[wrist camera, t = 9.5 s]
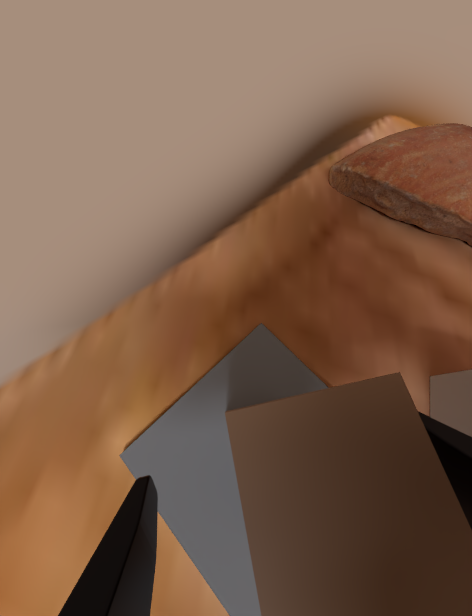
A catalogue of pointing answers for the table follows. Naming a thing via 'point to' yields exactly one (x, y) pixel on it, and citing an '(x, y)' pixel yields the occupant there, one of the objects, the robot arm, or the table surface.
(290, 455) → the brown rectangular block
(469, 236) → the ceramic shard
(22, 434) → the table surface
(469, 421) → the rack
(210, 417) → the mat
